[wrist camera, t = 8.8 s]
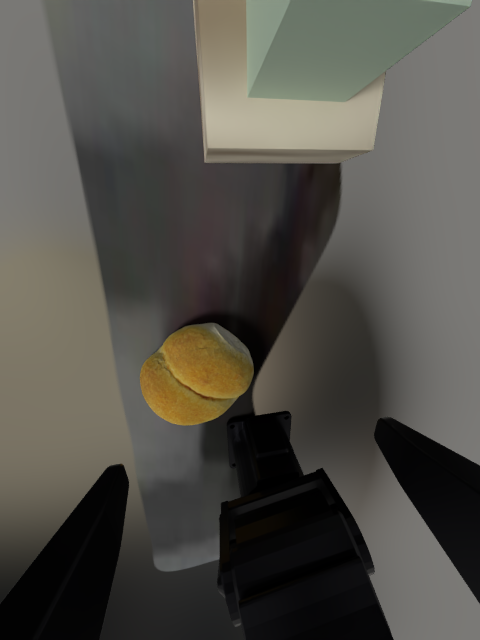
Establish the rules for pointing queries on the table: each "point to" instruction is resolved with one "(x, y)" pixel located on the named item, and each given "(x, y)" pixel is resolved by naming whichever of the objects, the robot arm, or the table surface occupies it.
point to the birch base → (269, 104)
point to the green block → (334, 43)
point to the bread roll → (196, 374)
